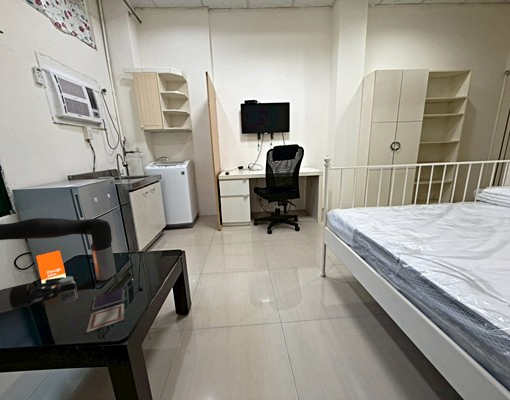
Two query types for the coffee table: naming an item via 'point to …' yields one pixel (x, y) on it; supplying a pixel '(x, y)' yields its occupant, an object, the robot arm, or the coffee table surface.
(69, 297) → the pill bottle
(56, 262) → the orange juice
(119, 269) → the coffee table surface
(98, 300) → the ink pad
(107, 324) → the marked board
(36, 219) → the robot arm
